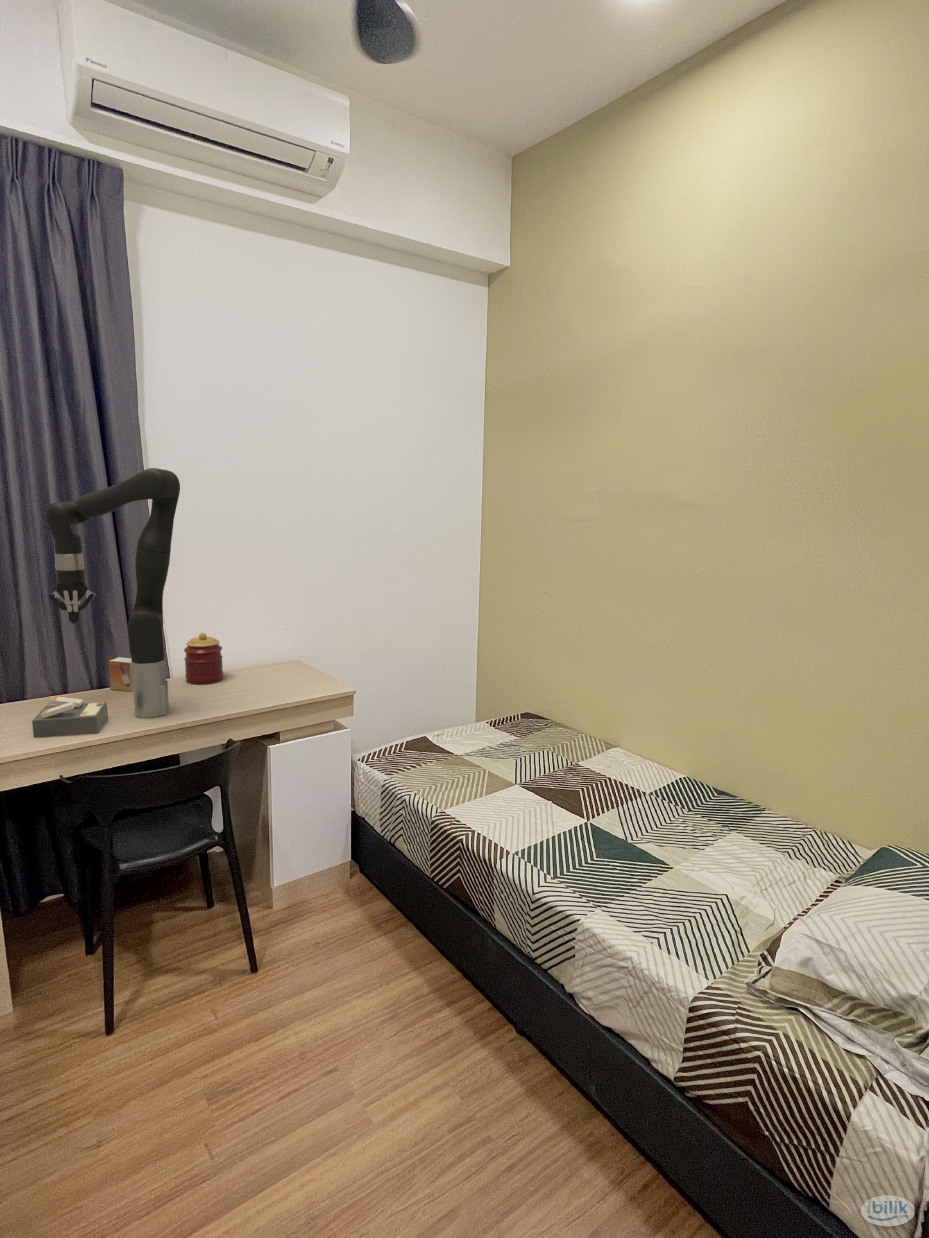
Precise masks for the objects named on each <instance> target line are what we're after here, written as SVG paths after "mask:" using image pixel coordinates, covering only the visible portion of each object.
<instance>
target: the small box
mask: <svg viewBox="0 0 929 1238" xmlns="http://www.w3.org/2000/svg"><path fill="white" fill-rule="evenodd" d="M108 663H109V665H108V667H109V669H108V670H109V681H110V684H109V685H110V690H113V691H121V692H122V691H123V692H128V693H129V692H130V693H132V692H134V690H133V675H132V661H131V657H130V658H129V657H121V656H120V657H115V658H114V659H110V660H108Z"/></svg>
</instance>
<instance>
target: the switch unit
mask: <svg viewBox="0 0 929 1238" xmlns="http://www.w3.org/2000/svg"><path fill="white" fill-rule="evenodd" d="M57 706H60V705H56V704H49V705H45V706H44V708H42V710H41V711H40V712H39V713H38V714H37V715H36V716H35V717H33V719H32V720H31V723H32V733H33V738H35V739H36V738H48V737H59V736H60V737H62V736H63V737H64V736H77V735H91V734H99V732H100V731H101V730H102V727H103V726H104V725H105V723H106V721H107V720H108V717H109V716H108V715H109V714H108V703H107V701H102V702H86V703H85V702H83V704H82V705H81V706H80V707H74V708H73V709H70V710H67V711H64V712H61V713H58V714H55V715H52V716H49V717H46V718H42V716H41V714H42V713H43V712H44V711H45V710H47V709H51V708H54V707H57Z"/></svg>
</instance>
